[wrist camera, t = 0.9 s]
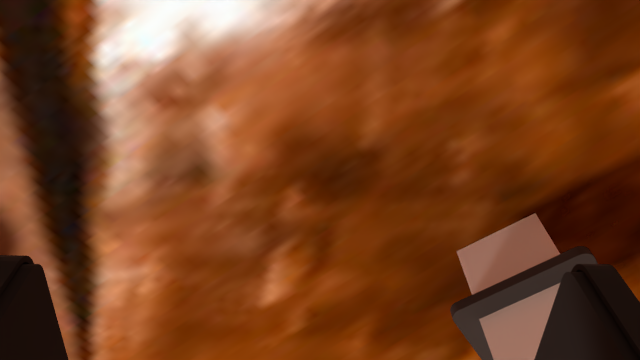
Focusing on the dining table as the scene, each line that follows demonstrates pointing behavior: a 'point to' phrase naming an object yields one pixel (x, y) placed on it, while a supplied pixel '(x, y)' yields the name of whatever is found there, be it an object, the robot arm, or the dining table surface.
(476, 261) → the white flanged box
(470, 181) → the dining table surface
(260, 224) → the dining table surface
